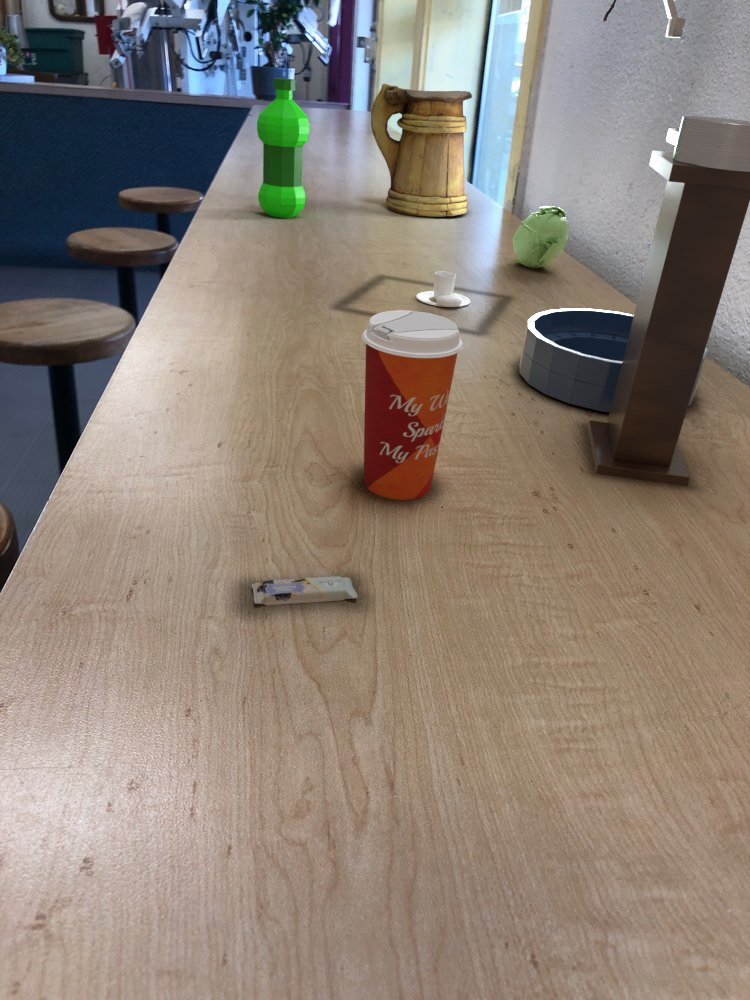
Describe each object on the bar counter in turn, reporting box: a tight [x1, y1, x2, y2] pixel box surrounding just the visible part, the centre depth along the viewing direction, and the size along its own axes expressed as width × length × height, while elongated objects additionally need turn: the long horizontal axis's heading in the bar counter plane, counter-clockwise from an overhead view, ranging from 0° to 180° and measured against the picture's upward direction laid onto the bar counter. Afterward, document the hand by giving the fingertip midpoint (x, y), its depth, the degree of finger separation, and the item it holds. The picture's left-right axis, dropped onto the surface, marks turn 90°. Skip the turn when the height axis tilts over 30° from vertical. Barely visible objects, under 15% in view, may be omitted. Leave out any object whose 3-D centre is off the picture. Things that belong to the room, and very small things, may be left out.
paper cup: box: [361, 309, 464, 501], centre depth 62 cm, size 8×8×14 cm
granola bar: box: [251, 575, 359, 606], centre depth 51 cm, size 7×2×1 cm, turn 101°
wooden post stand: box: [586, 150, 750, 487], centre depth 68 cm, size 8×10×26 cm
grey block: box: [665, 115, 750, 172], centre depth 66 cm, size 7×22×3 cm, turn 171°
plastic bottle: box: [256, 77, 311, 219], centre depth 155 cm, size 10×10×25 cm
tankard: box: [370, 83, 473, 218], centre depth 174 cm, size 18×24×25 cm
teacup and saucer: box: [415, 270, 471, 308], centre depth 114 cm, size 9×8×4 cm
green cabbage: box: [512, 205, 570, 269], centre depth 135 cm, size 12×11×11 cm
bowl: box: [518, 308, 709, 413], centre depth 89 cm, size 20×20×6 cm
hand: (717, 41), depth 86 cm, fingers open, 8 cm apart
